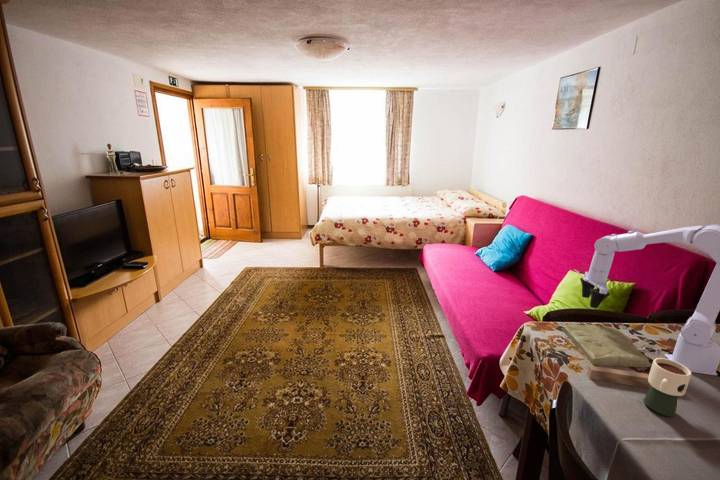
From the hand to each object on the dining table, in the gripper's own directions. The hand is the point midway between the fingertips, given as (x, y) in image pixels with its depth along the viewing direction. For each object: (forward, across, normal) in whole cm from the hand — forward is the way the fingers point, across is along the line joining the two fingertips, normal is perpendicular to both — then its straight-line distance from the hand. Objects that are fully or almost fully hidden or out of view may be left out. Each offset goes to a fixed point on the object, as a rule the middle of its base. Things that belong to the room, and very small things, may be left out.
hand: (589, 302), depth 121 cm
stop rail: (+9, +32, +2) cm, 33 cm away
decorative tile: (+10, +14, +2) cm, 17 cm away
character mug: (+8, +41, +4) cm, 42 cm away
